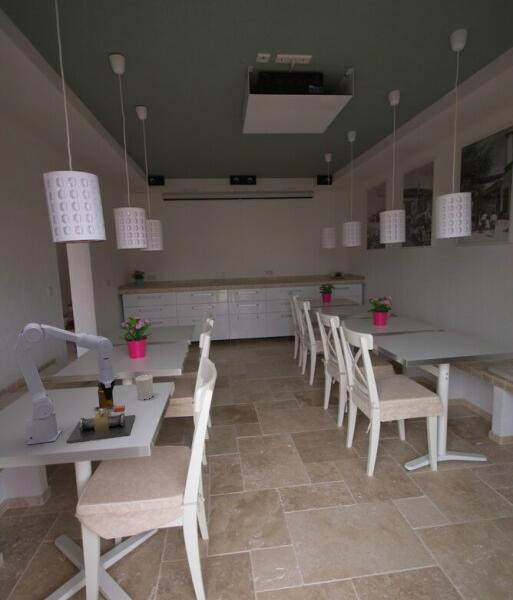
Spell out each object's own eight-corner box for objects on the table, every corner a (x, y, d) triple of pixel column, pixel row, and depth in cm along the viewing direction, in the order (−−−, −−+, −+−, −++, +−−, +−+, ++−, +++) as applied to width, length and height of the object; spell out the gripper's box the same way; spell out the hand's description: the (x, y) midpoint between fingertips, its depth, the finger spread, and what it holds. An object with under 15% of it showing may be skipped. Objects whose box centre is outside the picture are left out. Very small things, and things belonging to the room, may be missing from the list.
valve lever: (97, 414, 136) (97, 410, 136) (99, 411, 138) (99, 407, 138) (123, 411, 138) (123, 407, 137) (125, 409, 140) (124, 405, 140)
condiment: (116, 409, 157) (113, 383, 156) (95, 414, 152) (93, 387, 151) (112, 403, 163) (110, 379, 162) (93, 408, 159) (90, 383, 157)
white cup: (157, 396, 170) (156, 376, 169) (144, 402, 164) (142, 381, 162) (146, 393, 174) (145, 373, 173) (133, 398, 168) (131, 378, 166)
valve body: (66, 443, 128) (64, 425, 127) (79, 423, 144) (77, 407, 143) (129, 435, 133) (128, 418, 132) (135, 417, 148) (134, 401, 147)
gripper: (117, 370, 138) (120, 403, 139) (115, 361, 151) (118, 391, 152) (98, 373, 135) (101, 407, 136) (97, 363, 148) (100, 394, 149)
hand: (108, 399), depth 144 cm, fingers closed
